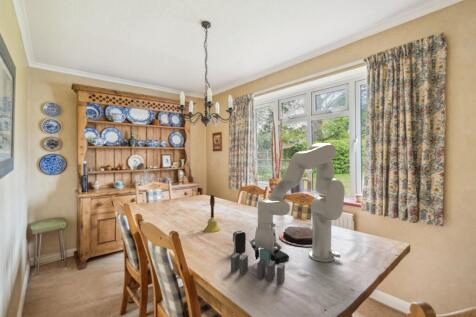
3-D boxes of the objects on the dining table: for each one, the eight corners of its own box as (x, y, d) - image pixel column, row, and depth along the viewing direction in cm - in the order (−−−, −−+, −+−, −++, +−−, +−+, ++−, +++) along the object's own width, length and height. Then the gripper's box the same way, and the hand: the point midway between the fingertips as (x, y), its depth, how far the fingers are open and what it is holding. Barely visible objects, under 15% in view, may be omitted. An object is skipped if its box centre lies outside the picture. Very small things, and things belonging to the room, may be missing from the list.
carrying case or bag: (292, 259, 121) (273, 250, 133) (292, 254, 121) (273, 244, 133) (277, 265, 115) (258, 254, 127) (277, 259, 115) (258, 248, 127)
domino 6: (284, 279, 101) (284, 263, 101) (281, 285, 97) (281, 268, 97) (280, 278, 102) (280, 262, 102) (276, 284, 98) (276, 267, 98)
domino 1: (239, 268, 111) (239, 253, 111) (234, 272, 107) (234, 257, 107) (235, 267, 112) (235, 252, 112) (230, 271, 108) (230, 257, 108)
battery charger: (242, 249, 133) (242, 229, 133) (246, 251, 130) (246, 231, 130) (231, 251, 130) (231, 231, 129) (235, 254, 126) (235, 233, 126)
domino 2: (247, 270, 109) (247, 255, 109) (243, 275, 105) (243, 259, 105) (244, 269, 110) (244, 254, 110) (239, 274, 106) (239, 258, 106)
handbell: (201, 231, 163) (200, 196, 162) (207, 226, 175) (207, 193, 174) (217, 233, 160) (217, 197, 160) (223, 227, 172) (223, 194, 172)
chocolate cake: (328, 250, 133) (328, 238, 133) (278, 246, 139) (278, 235, 139) (320, 233, 161) (321, 224, 161) (279, 230, 166) (279, 221, 166)
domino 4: (265, 274, 105) (265, 259, 105) (261, 280, 101) (261, 264, 101) (261, 273, 106) (261, 258, 106) (257, 278, 102) (257, 263, 102)
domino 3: (261, 262, 118) (261, 248, 117) (270, 264, 115) (270, 250, 115) (259, 263, 116) (259, 249, 116) (269, 266, 113) (269, 251, 113)
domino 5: (274, 277, 103) (274, 261, 103) (271, 282, 99) (271, 266, 99) (270, 275, 104) (270, 260, 104) (266, 281, 100) (266, 265, 100)
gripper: (284, 225, 115) (284, 260, 115) (252, 220, 122) (251, 253, 123) (280, 229, 108) (279, 267, 108) (246, 224, 116) (245, 259, 116)
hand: (265, 260), depth 115 cm, fingers open, 7 cm apart
